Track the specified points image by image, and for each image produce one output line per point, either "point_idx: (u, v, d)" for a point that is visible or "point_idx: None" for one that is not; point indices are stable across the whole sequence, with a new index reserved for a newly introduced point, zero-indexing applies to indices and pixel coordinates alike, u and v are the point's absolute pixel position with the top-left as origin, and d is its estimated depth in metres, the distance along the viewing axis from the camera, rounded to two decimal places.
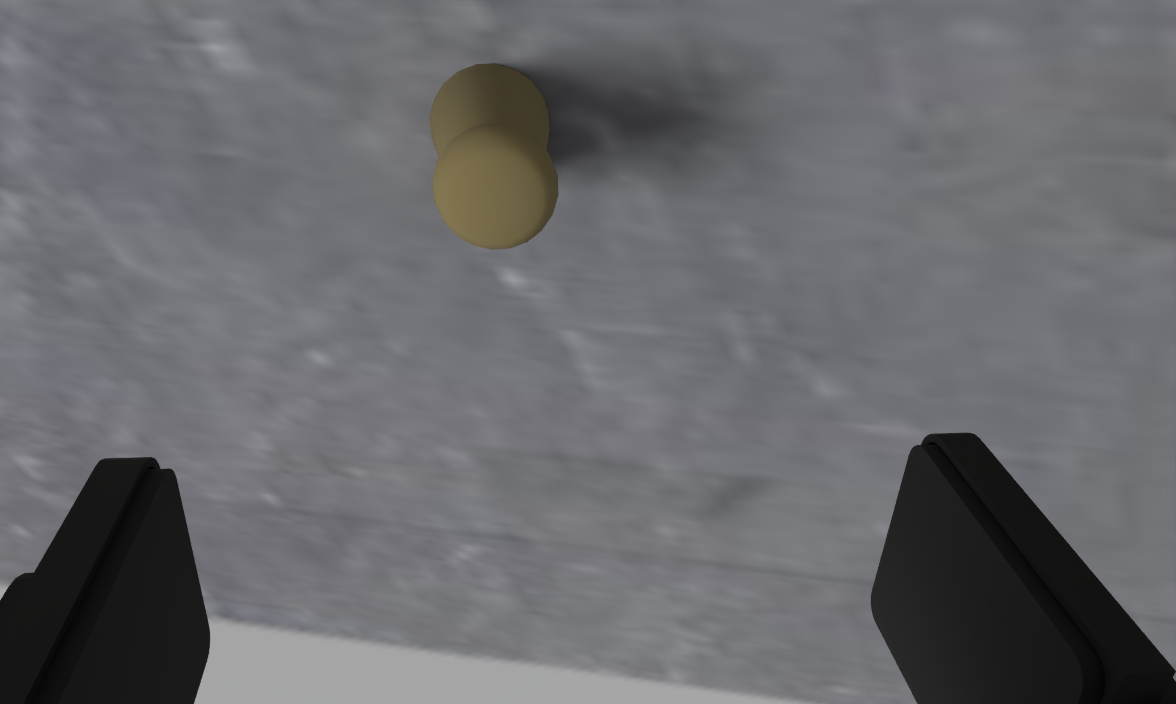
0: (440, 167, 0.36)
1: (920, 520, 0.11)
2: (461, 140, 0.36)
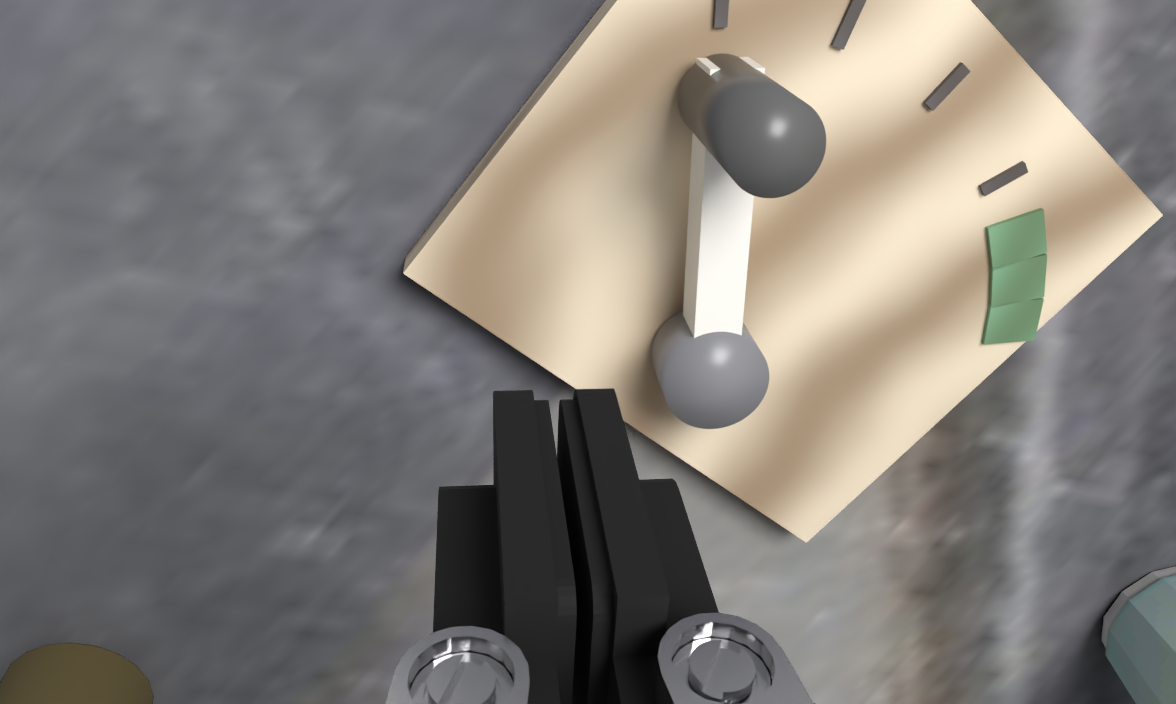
0: None
1: (561, 471, 0.12)
2: None
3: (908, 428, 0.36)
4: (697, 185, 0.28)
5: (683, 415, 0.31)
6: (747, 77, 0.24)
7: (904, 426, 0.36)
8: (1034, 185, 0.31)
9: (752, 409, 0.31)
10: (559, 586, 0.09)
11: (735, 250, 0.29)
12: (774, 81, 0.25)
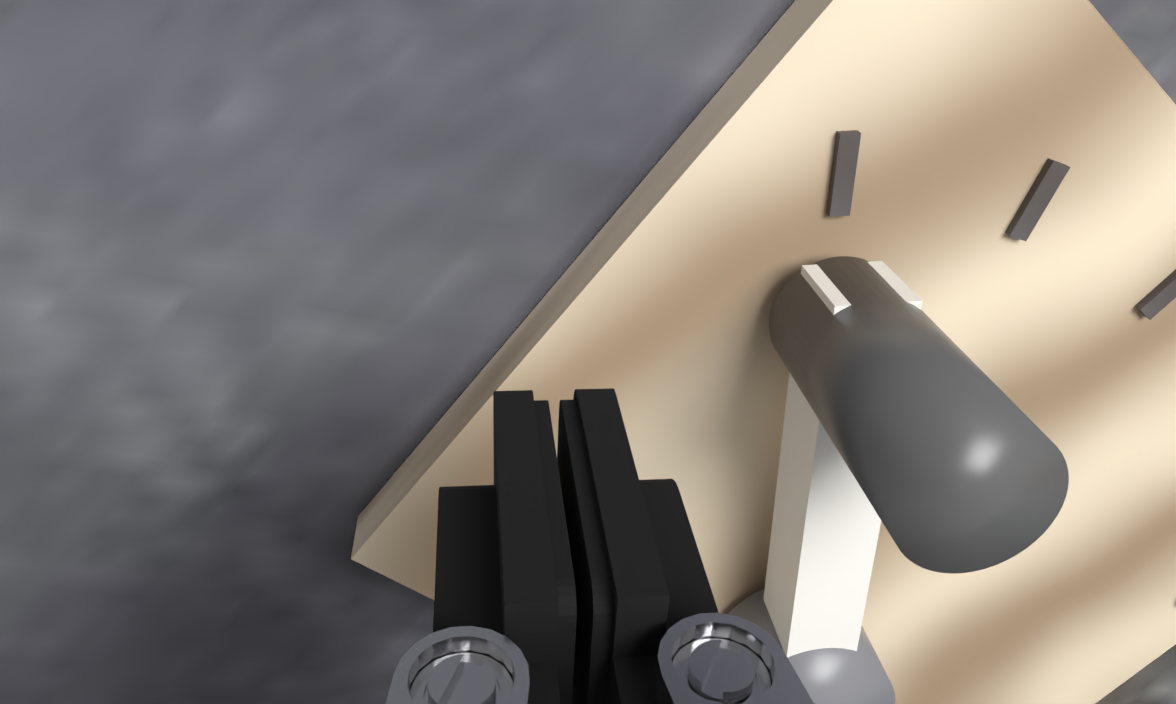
0: None
1: (561, 471, 0.12)
2: None
3: None
4: (799, 453, 0.18)
5: None
6: (910, 344, 0.14)
7: None
8: None
9: None
10: (560, 585, 0.09)
11: (856, 547, 0.19)
12: (954, 349, 0.15)
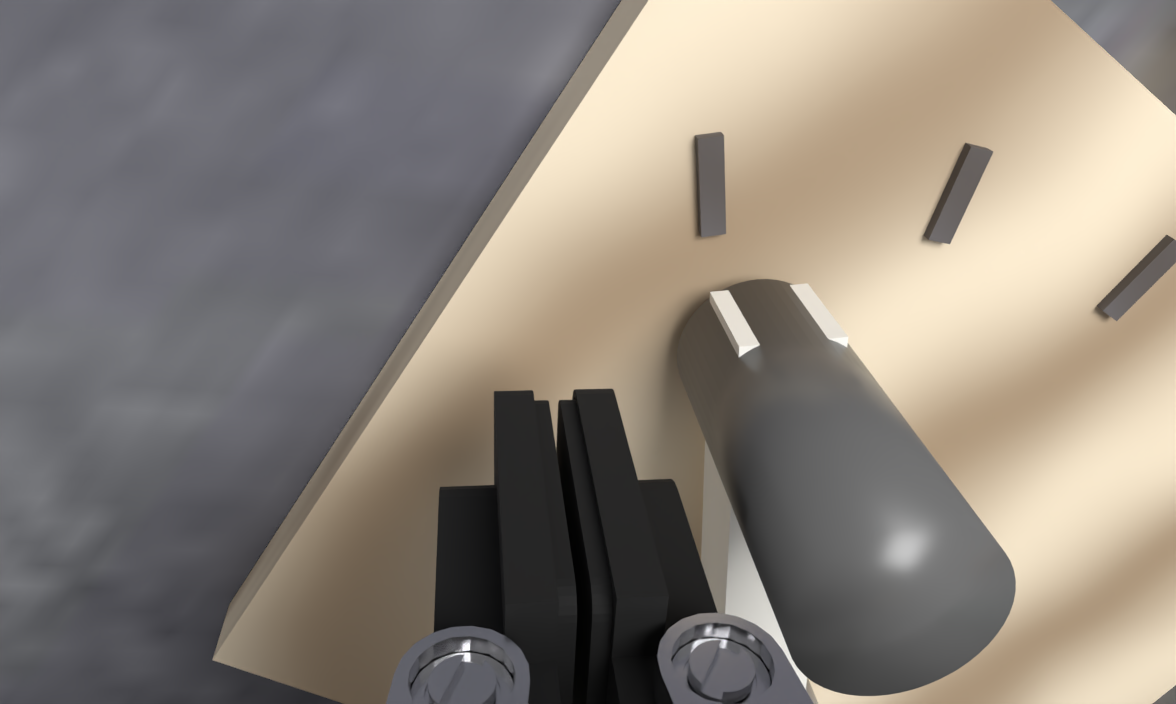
0: None
1: (560, 471, 0.12)
2: None
3: None
4: (717, 512, 0.15)
5: None
6: (821, 400, 0.12)
7: None
8: None
9: None
10: (560, 586, 0.09)
11: None
12: (879, 404, 0.12)
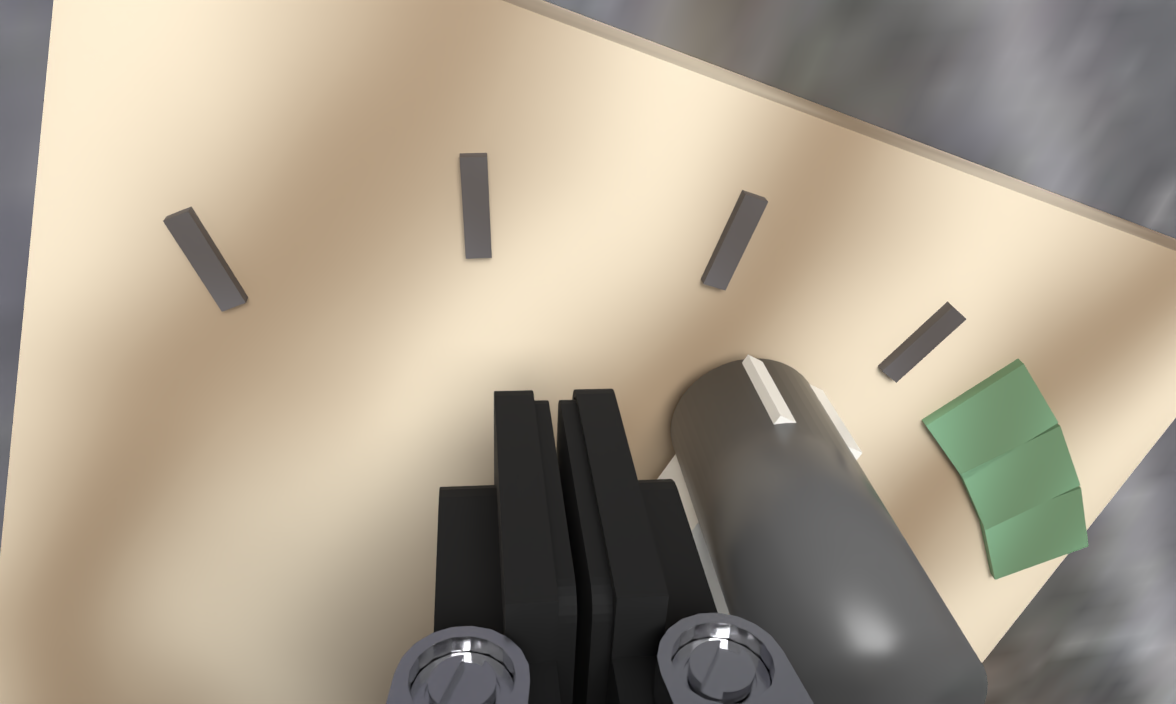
0: None
1: (560, 471, 0.12)
2: None
3: None
4: None
5: None
6: (857, 497, 0.12)
7: None
8: (990, 330, 0.16)
9: None
10: (560, 585, 0.09)
11: None
12: (894, 522, 0.12)
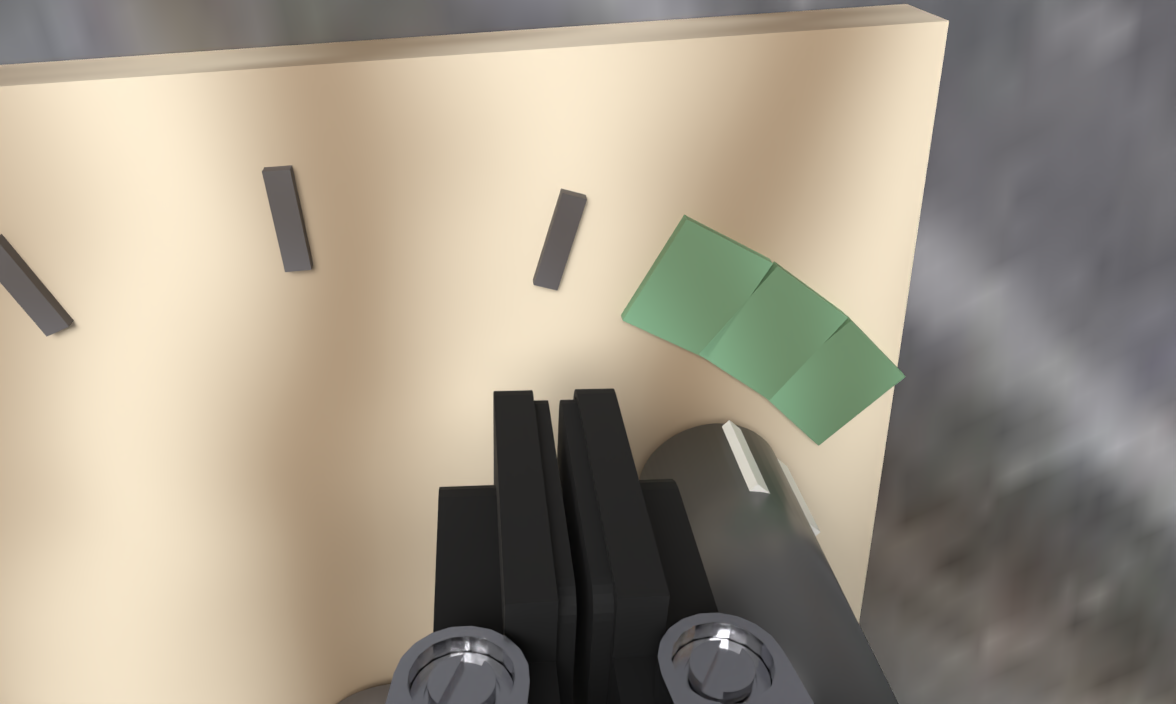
0: None
1: (561, 471, 0.12)
2: None
3: None
4: None
5: None
6: (822, 573, 0.13)
7: None
8: (632, 197, 0.14)
9: None
10: (560, 586, 0.09)
11: None
12: None
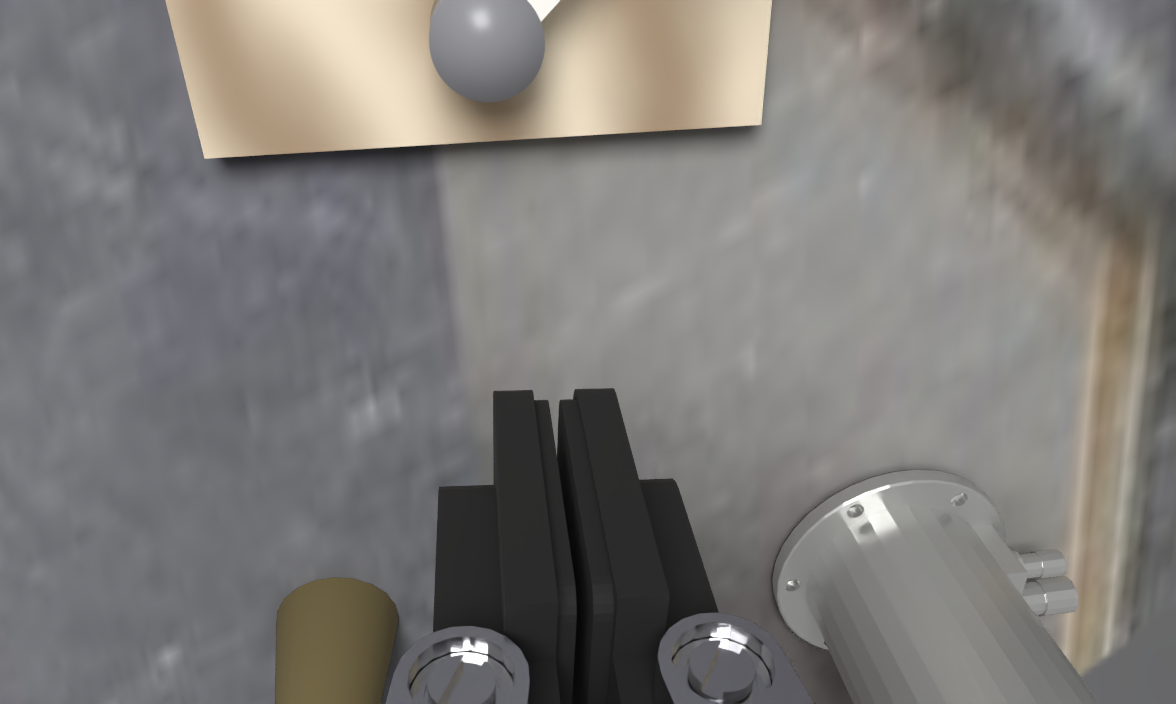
0: None
1: (561, 471, 0.12)
2: None
3: None
4: None
5: (436, 49, 0.28)
6: None
7: None
8: None
9: (495, 99, 0.29)
10: (560, 585, 0.09)
11: None
12: None
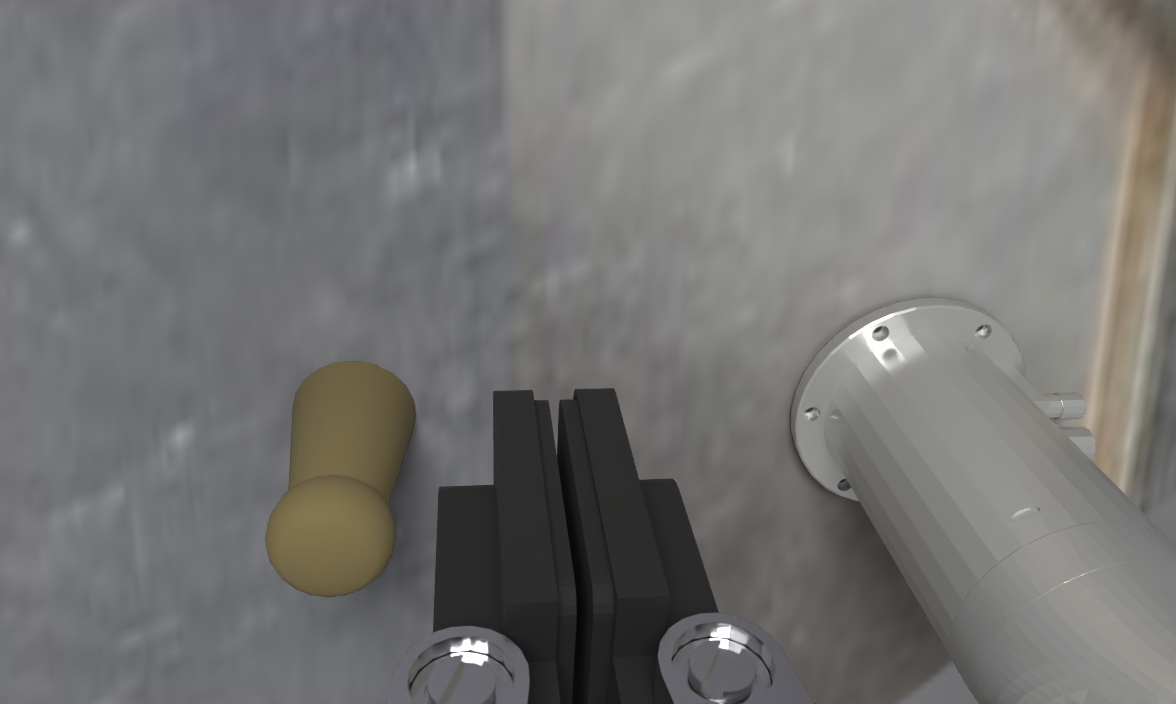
0: (352, 504, 0.36)
1: (561, 471, 0.12)
2: (380, 516, 0.37)
3: None
4: None
5: None
6: None
7: None
8: None
9: None
10: (560, 585, 0.09)
11: None
12: None
